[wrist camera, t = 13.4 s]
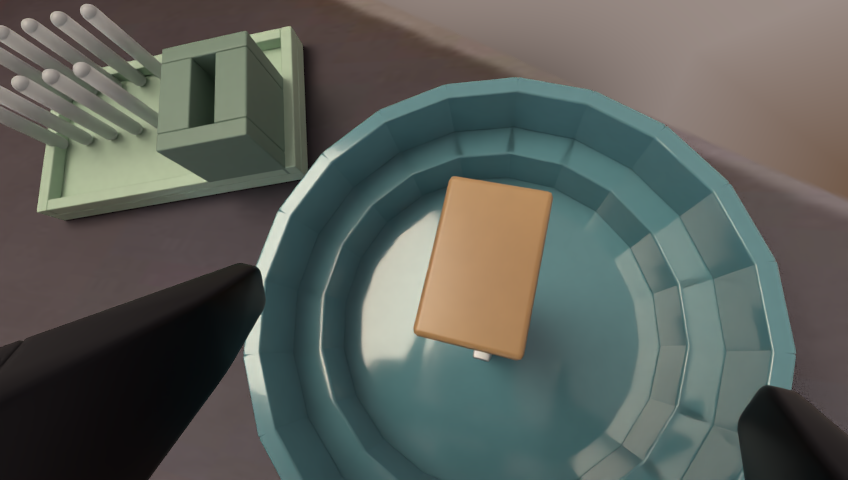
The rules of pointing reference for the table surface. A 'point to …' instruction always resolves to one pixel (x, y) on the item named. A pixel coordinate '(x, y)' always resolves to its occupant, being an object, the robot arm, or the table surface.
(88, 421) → the robot arm
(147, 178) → the dish rack
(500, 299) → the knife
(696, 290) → the basin
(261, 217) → the table surface
